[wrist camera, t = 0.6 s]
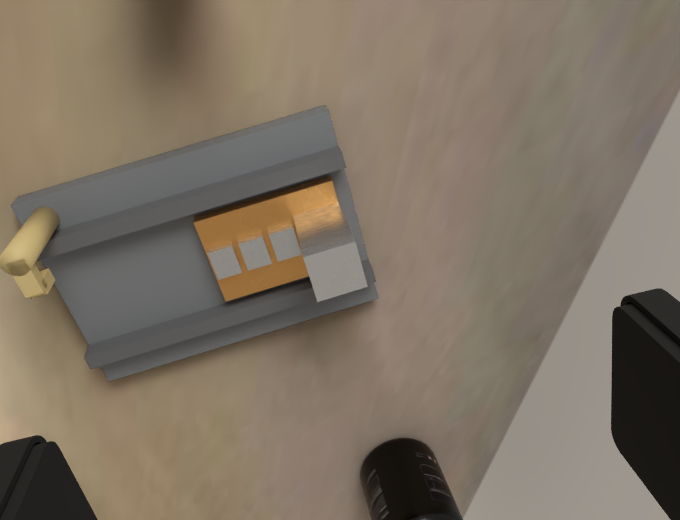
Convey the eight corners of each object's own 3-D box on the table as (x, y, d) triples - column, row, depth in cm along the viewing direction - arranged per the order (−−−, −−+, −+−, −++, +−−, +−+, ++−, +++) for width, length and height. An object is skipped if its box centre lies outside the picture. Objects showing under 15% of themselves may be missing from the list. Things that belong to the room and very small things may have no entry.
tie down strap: (225, 294, 42) (225, 353, 36) (194, 216, 39) (187, 266, 33) (352, 255, 42) (373, 307, 36) (329, 175, 39) (348, 217, 33)
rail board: (112, 368, 45) (92, 441, 38) (18, 197, 38) (-27, 248, 32) (374, 288, 45) (399, 345, 39) (325, 104, 39) (345, 136, 32)
